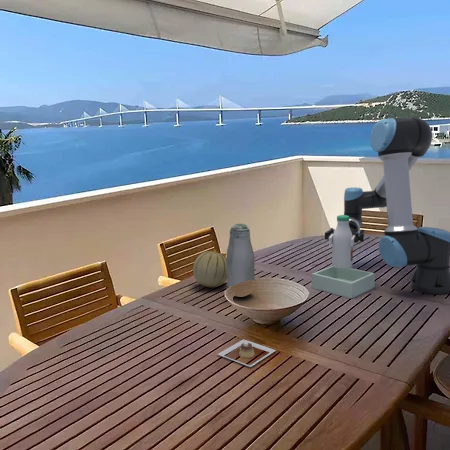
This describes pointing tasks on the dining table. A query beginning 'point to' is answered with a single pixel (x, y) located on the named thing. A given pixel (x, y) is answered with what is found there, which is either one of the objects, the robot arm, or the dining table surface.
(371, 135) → the robot arm
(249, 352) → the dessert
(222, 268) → the cantaloupe
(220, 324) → the dining table surface
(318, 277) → the tote
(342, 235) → the milk bottle
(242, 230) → the glass bottle
